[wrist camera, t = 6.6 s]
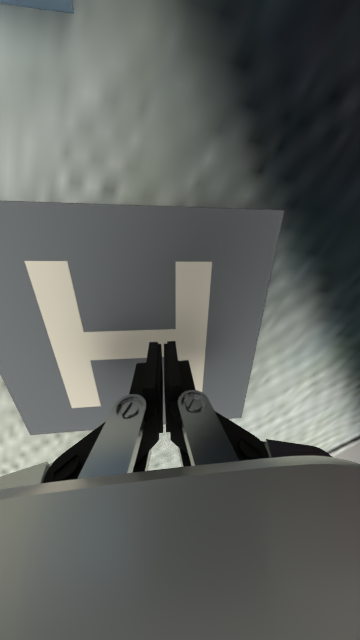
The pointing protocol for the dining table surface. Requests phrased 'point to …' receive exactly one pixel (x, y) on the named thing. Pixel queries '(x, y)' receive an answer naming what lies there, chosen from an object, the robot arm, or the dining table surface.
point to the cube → (43, 4)
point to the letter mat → (127, 302)
